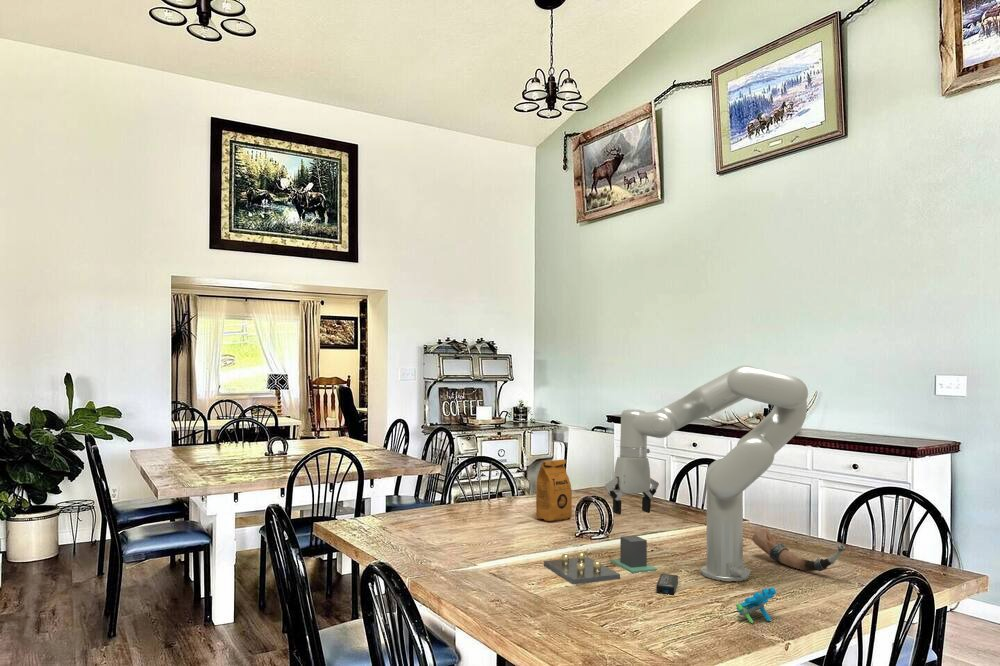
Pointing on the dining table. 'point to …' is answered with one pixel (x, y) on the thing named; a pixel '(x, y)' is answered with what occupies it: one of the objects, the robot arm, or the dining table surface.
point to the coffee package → (553, 492)
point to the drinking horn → (784, 556)
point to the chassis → (581, 569)
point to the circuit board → (633, 555)
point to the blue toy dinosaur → (756, 603)
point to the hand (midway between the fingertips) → (631, 512)
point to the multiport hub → (667, 584)
